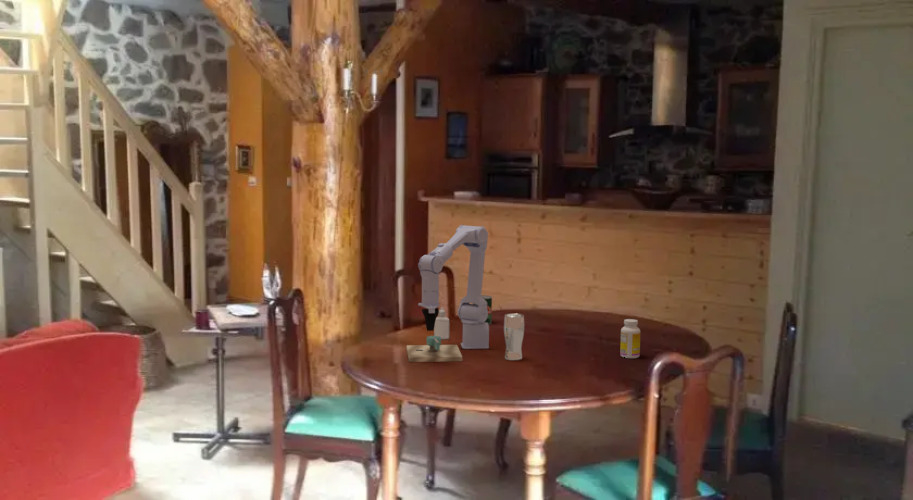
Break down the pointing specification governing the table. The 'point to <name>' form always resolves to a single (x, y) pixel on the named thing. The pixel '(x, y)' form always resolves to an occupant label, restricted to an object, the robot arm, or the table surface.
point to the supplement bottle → (630, 339)
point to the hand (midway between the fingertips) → (430, 330)
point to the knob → (434, 341)
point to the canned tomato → (488, 308)
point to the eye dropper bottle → (442, 325)
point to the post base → (433, 353)
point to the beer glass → (513, 335)
